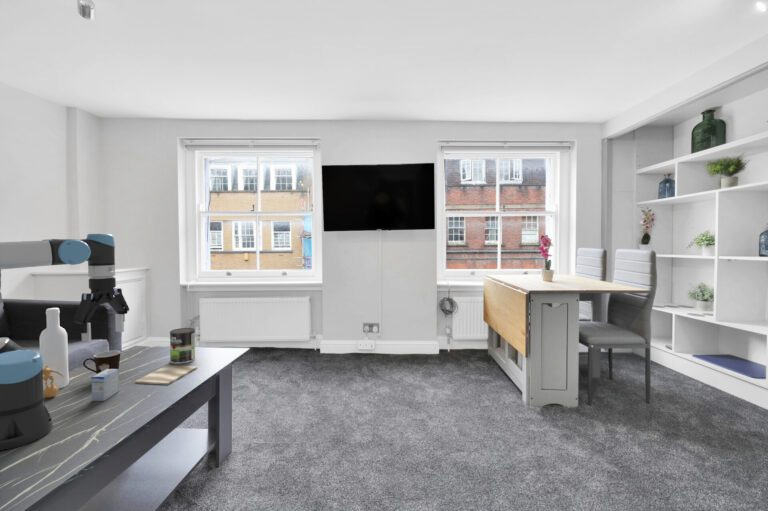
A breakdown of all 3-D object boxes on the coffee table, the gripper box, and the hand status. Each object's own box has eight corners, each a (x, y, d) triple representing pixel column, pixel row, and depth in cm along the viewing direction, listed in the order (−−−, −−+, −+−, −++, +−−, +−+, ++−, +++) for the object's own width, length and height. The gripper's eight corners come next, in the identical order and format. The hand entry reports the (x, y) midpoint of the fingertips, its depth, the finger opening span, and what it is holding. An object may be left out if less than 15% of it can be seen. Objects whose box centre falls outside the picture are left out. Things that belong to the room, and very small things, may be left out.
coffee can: (182, 365, 161) (182, 334, 160) (164, 362, 164) (164, 332, 163) (200, 357, 171) (200, 328, 170) (183, 355, 174) (183, 326, 173)
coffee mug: (126, 374, 149) (126, 351, 148) (108, 383, 140) (108, 357, 140) (100, 373, 150) (100, 349, 150) (81, 381, 141) (80, 356, 141)
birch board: (168, 384, 139) (168, 382, 139) (135, 383, 141) (135, 381, 141) (197, 368, 157) (197, 366, 157) (167, 366, 158) (167, 365, 158)
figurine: (68, 393, 131) (67, 360, 130) (60, 400, 125) (59, 366, 125) (39, 396, 128) (37, 363, 127) (29, 403, 122) (28, 369, 122)
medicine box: (106, 391, 132) (106, 368, 132) (119, 391, 133) (119, 368, 132) (91, 401, 125) (90, 376, 124) (105, 401, 125) (104, 376, 125)
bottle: (64, 381, 142) (62, 305, 141) (72, 385, 138) (70, 308, 136) (37, 388, 135) (34, 309, 134) (44, 392, 131) (42, 311, 130)
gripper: (78, 281, 114) (80, 347, 115) (139, 273, 139) (140, 328, 140) (57, 281, 115) (59, 346, 116) (121, 273, 140) (123, 327, 141)
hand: (104, 336), depth 128 cm, fingers open, 13 cm apart
